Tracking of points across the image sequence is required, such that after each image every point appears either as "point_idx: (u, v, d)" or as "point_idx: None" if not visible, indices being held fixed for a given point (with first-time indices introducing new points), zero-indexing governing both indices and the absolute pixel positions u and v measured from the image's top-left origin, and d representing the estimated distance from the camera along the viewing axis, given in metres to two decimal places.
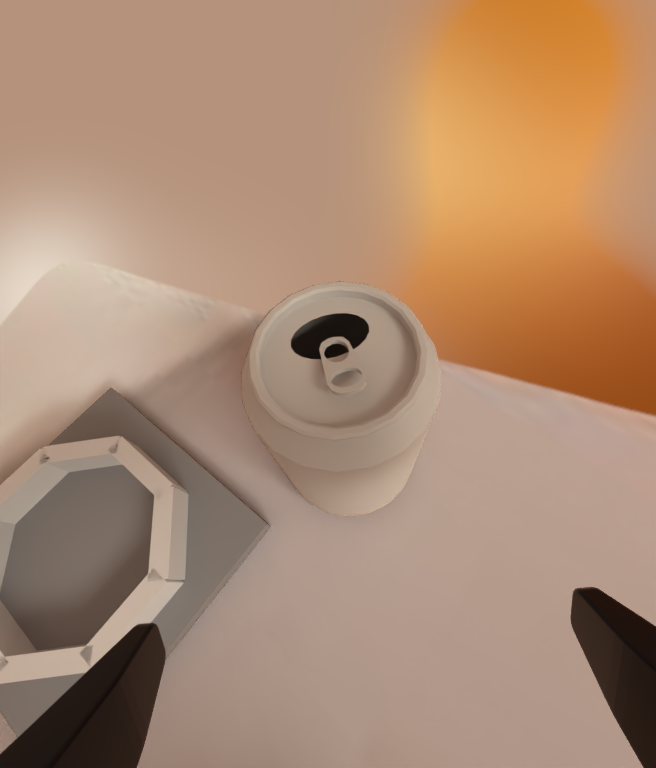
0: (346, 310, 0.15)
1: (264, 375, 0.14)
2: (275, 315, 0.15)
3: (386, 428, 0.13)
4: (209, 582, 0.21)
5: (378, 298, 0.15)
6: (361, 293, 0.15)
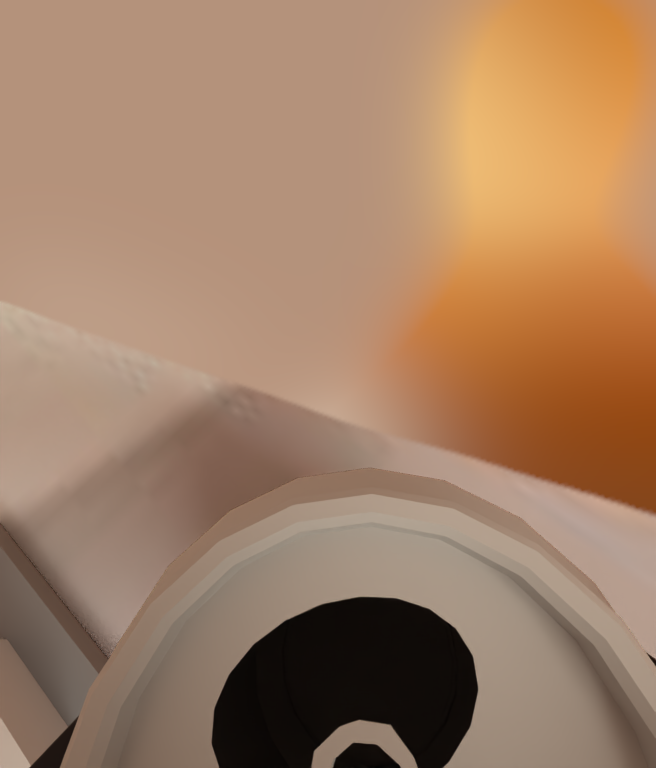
0: (393, 587, 0.05)
1: None
2: (161, 628, 0.04)
3: None
4: None
5: (505, 568, 0.04)
6: (443, 535, 0.05)
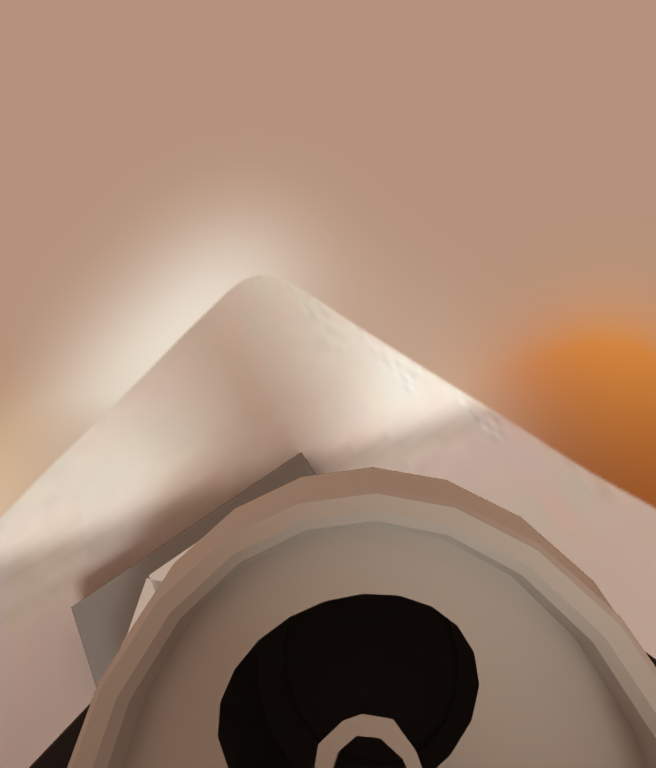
0: (396, 585, 0.05)
1: None
2: (169, 623, 0.04)
3: None
4: None
5: (506, 566, 0.04)
6: (445, 534, 0.05)
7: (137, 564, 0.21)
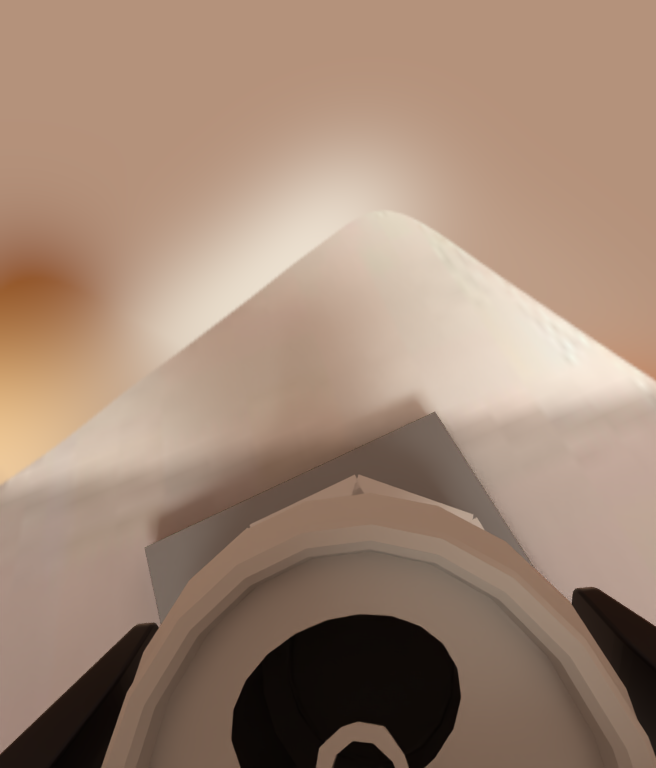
0: (389, 607, 0.05)
1: None
2: (189, 640, 0.05)
3: None
4: None
5: (486, 592, 0.05)
6: (433, 561, 0.05)
7: (226, 511, 0.17)
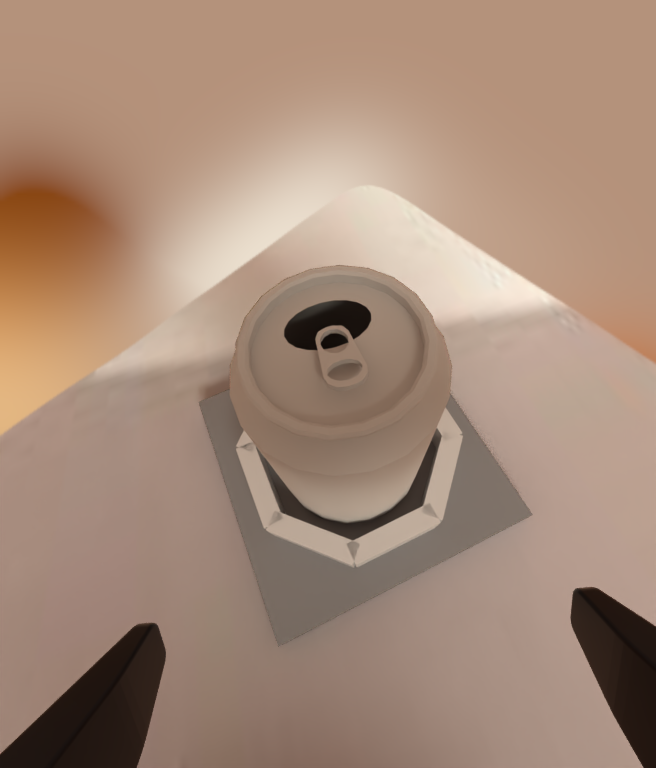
0: (345, 297, 0.14)
1: (254, 367, 0.13)
2: (267, 301, 0.13)
3: (389, 428, 0.12)
4: (460, 541, 0.20)
5: (382, 283, 0.13)
6: (363, 278, 0.13)
7: None
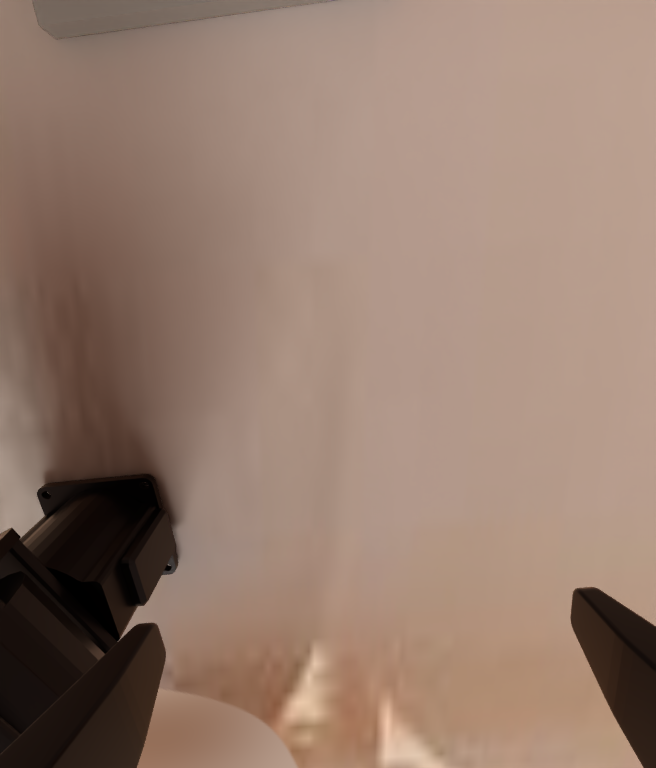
0: None
1: None
2: None
3: None
4: None
5: None
6: None
7: None
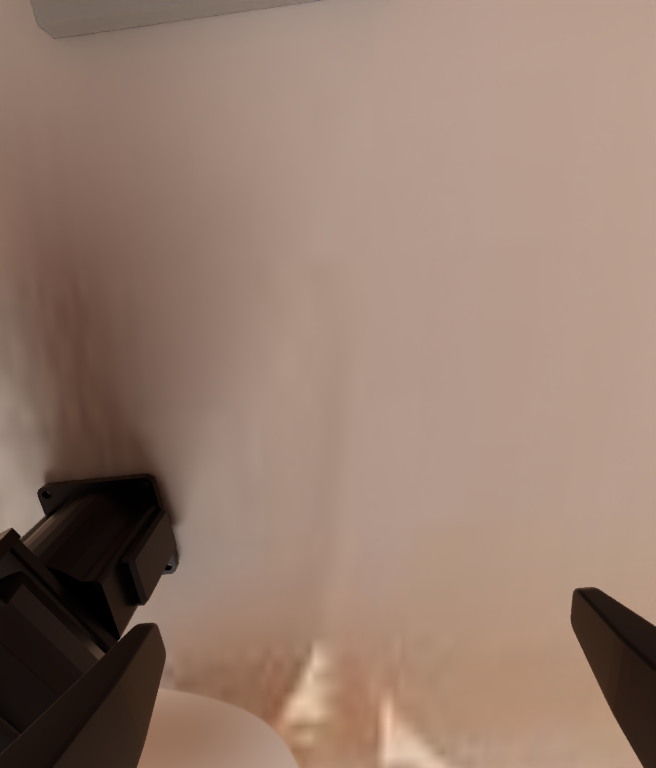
0: None
1: None
2: None
3: None
4: None
5: None
6: None
7: None
